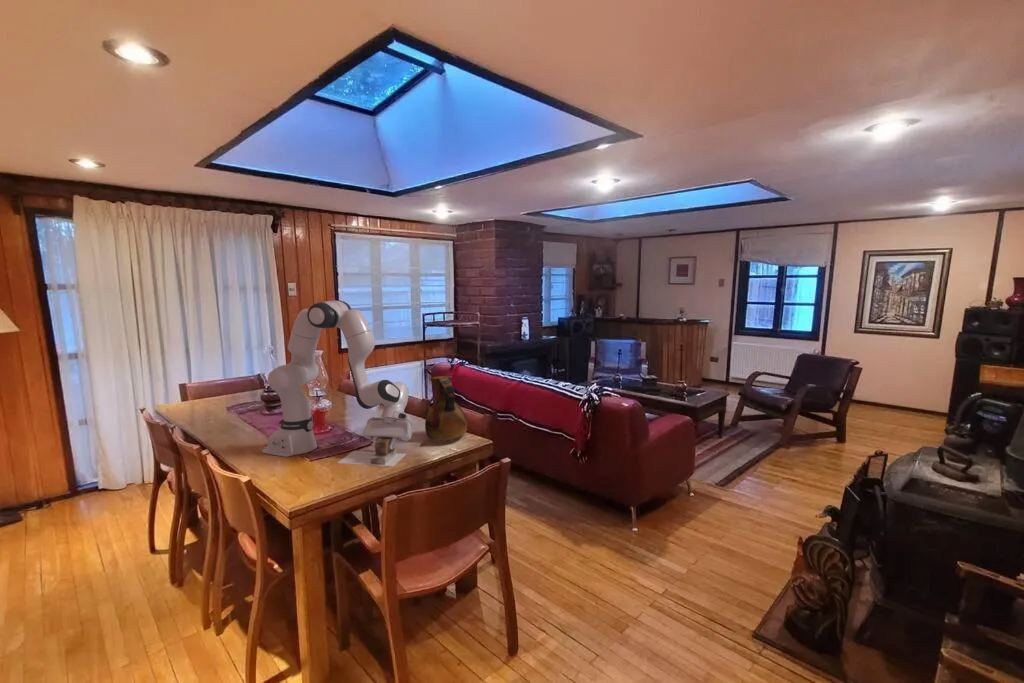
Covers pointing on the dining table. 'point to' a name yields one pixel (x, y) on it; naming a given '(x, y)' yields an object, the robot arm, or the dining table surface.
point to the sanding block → (382, 451)
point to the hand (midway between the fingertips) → (382, 448)
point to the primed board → (368, 458)
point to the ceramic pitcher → (445, 413)
